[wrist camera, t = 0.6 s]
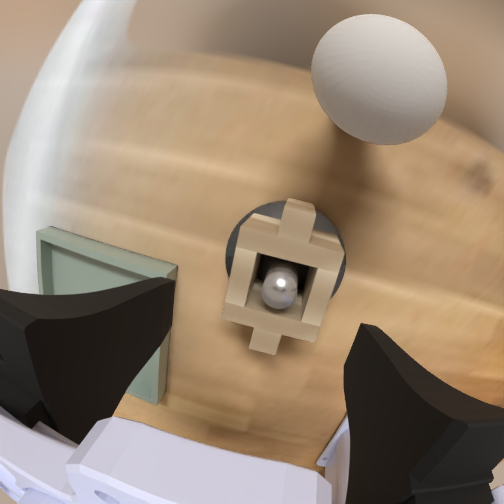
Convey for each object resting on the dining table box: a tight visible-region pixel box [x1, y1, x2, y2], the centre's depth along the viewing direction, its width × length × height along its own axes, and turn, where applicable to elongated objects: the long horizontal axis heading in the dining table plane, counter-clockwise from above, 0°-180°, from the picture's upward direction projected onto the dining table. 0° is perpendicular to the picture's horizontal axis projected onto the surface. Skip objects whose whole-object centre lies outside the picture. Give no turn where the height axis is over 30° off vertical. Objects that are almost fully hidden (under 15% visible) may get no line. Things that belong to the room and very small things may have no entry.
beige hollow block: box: [222, 198, 345, 355], centre depth 18 cm, size 8×5×4 cm, turn 168°
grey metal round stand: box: [226, 201, 346, 309], centre depth 18 cm, size 8×8×6 cm
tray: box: [36, 226, 178, 405], centre depth 24 cm, size 13×13×2 cm
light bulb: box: [311, 14, 447, 145], centre depth 12 cm, size 6×6×10 cm
